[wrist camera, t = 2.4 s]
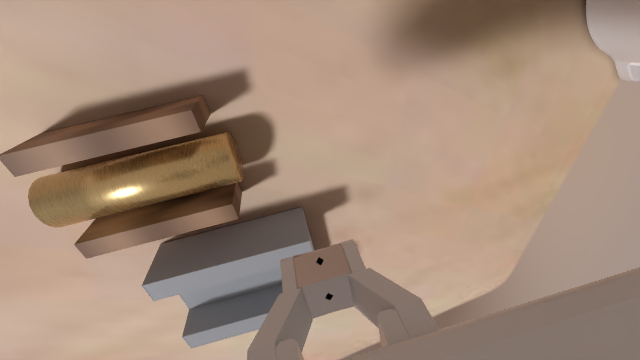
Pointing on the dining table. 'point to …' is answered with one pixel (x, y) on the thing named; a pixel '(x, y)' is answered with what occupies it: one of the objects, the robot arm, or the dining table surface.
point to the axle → (136, 180)
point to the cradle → (228, 274)
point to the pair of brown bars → (119, 137)
